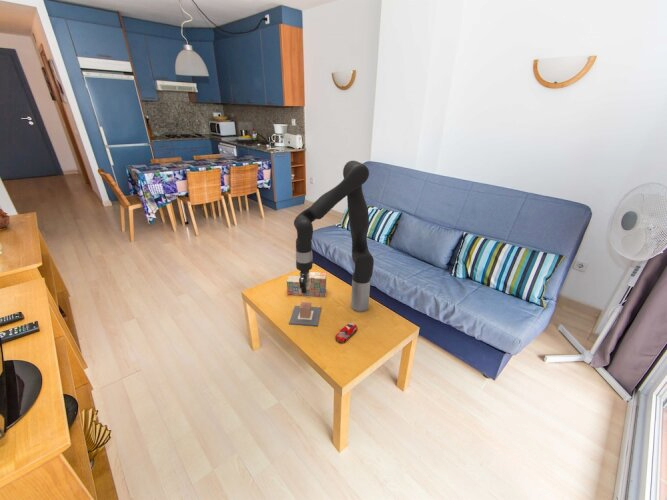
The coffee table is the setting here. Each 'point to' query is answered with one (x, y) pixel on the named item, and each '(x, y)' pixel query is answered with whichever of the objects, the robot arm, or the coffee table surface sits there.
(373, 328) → the coffee table surface
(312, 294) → the stack of blocks
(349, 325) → the race car
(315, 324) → the board
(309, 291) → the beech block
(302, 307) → the block
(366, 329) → the coffee table surface
